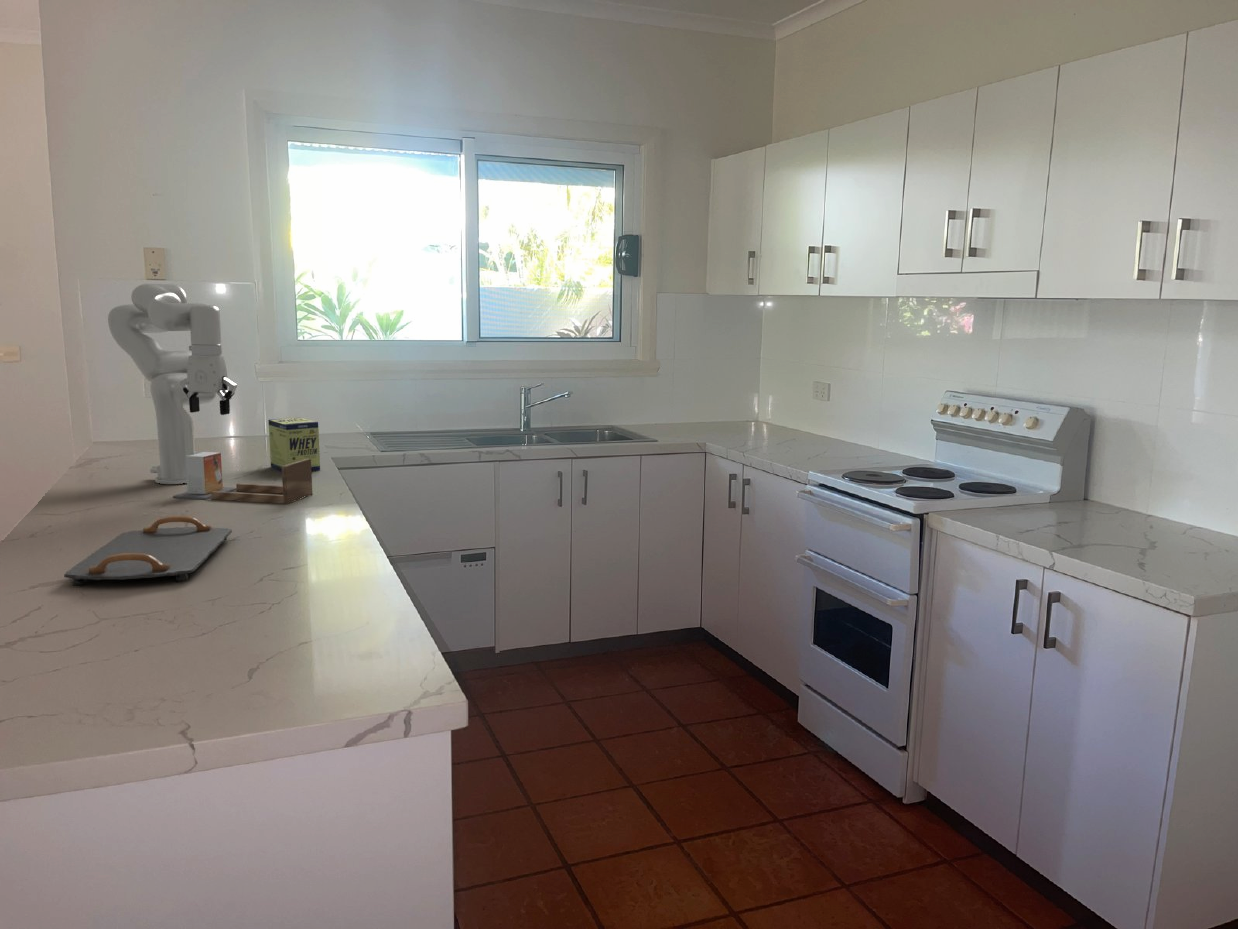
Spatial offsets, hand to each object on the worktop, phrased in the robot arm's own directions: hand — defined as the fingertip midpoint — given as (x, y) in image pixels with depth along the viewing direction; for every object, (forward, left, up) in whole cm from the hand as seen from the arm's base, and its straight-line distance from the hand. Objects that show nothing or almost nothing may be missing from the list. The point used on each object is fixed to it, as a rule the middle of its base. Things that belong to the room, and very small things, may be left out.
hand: (209, 413), depth 252 cm
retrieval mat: (0, -4, -22) cm, 22 cm away
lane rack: (+18, -4, -22) cm, 28 cm away
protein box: (+3, +37, -22) cm, 43 cm away
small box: (0, -4, -22) cm, 22 cm away
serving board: (+33, -66, -23) cm, 77 cm away
